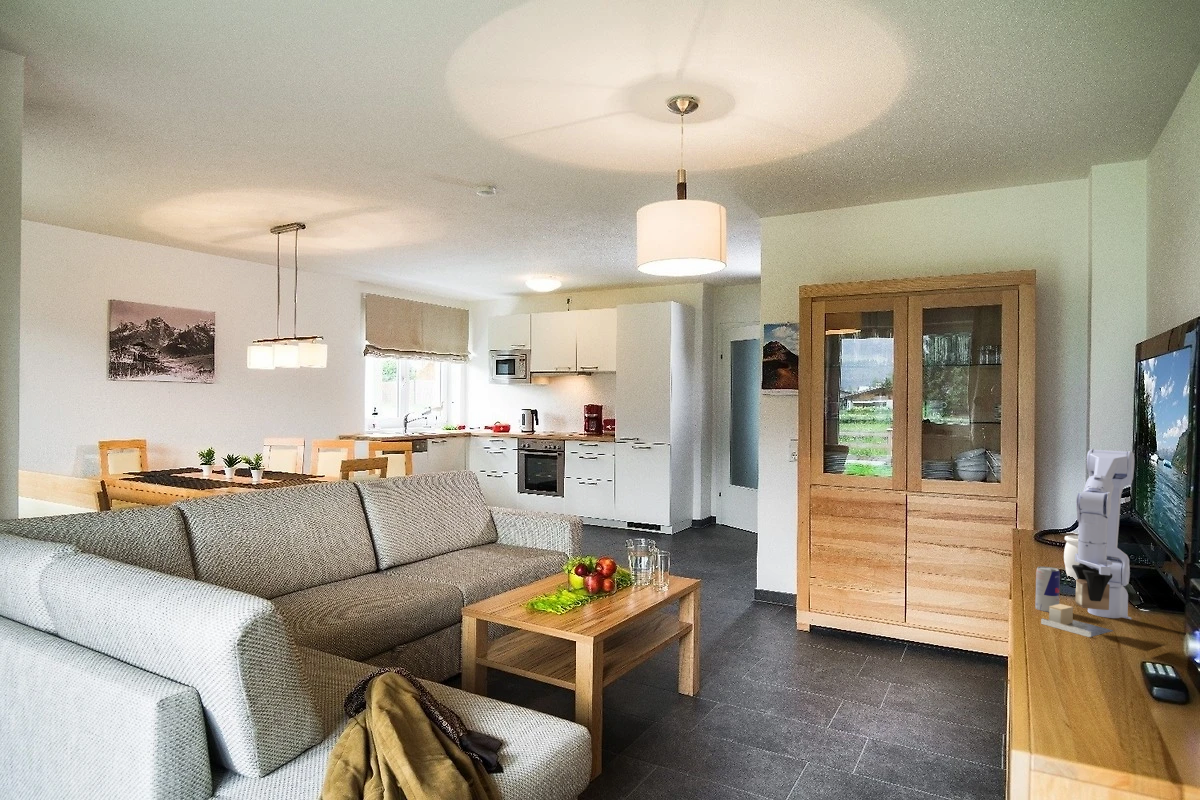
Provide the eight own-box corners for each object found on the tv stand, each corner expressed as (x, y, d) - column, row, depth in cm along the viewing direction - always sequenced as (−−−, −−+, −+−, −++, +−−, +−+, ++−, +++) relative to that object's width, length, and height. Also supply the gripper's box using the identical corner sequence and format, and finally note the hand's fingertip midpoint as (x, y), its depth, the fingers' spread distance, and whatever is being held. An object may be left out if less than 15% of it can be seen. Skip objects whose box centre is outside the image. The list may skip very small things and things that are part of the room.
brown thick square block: (1074, 603, 175) (1075, 578, 175) (1101, 605, 174) (1101, 580, 174) (1081, 607, 171) (1082, 582, 171) (1108, 610, 170) (1109, 584, 170)
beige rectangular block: (1059, 619, 181) (1060, 603, 181) (1072, 622, 178) (1072, 606, 178) (1048, 622, 179) (1048, 606, 179) (1060, 625, 176) (1061, 609, 176)
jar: (1098, 584, 222) (1099, 536, 222) (1110, 593, 213) (1111, 542, 213) (1059, 581, 226) (1060, 533, 226) (1068, 589, 216) (1069, 539, 216)
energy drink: (1062, 617, 187) (1063, 571, 187) (1039, 615, 188) (1041, 570, 188) (1053, 611, 192) (1054, 567, 192) (1031, 610, 193) (1033, 565, 193)
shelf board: (1065, 622, 183) (1065, 613, 183) (1113, 635, 173) (1113, 625, 173) (1040, 628, 177) (1041, 618, 177) (1089, 642, 168) (1089, 632, 168)
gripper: (1126, 549, 165) (1124, 608, 165) (1097, 537, 179) (1096, 591, 179) (1091, 546, 166) (1089, 605, 166) (1066, 535, 180) (1064, 589, 180)
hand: (1091, 598), depth 173 cm, fingers closed on brown thick square block, 4 cm apart
